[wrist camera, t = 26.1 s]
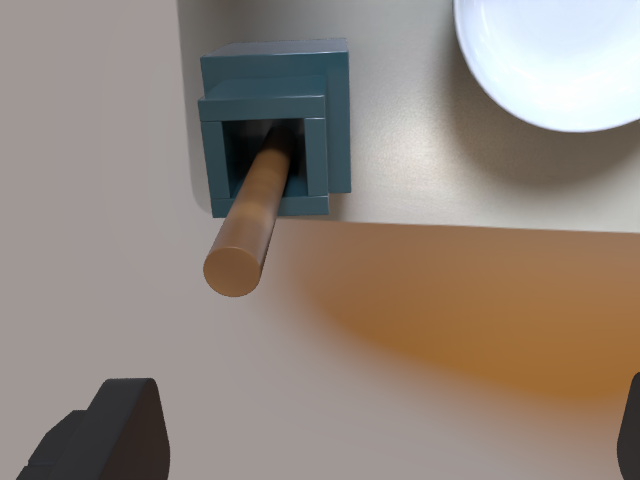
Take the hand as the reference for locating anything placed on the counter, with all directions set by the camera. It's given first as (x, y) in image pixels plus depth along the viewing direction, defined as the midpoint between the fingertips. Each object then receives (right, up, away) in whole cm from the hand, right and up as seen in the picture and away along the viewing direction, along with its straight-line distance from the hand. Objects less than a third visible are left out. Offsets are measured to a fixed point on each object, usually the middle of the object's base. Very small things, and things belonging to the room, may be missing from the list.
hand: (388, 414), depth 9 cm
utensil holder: (-4, +15, +39) cm, 42 cm away
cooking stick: (-4, +10, +30) cm, 32 cm away
